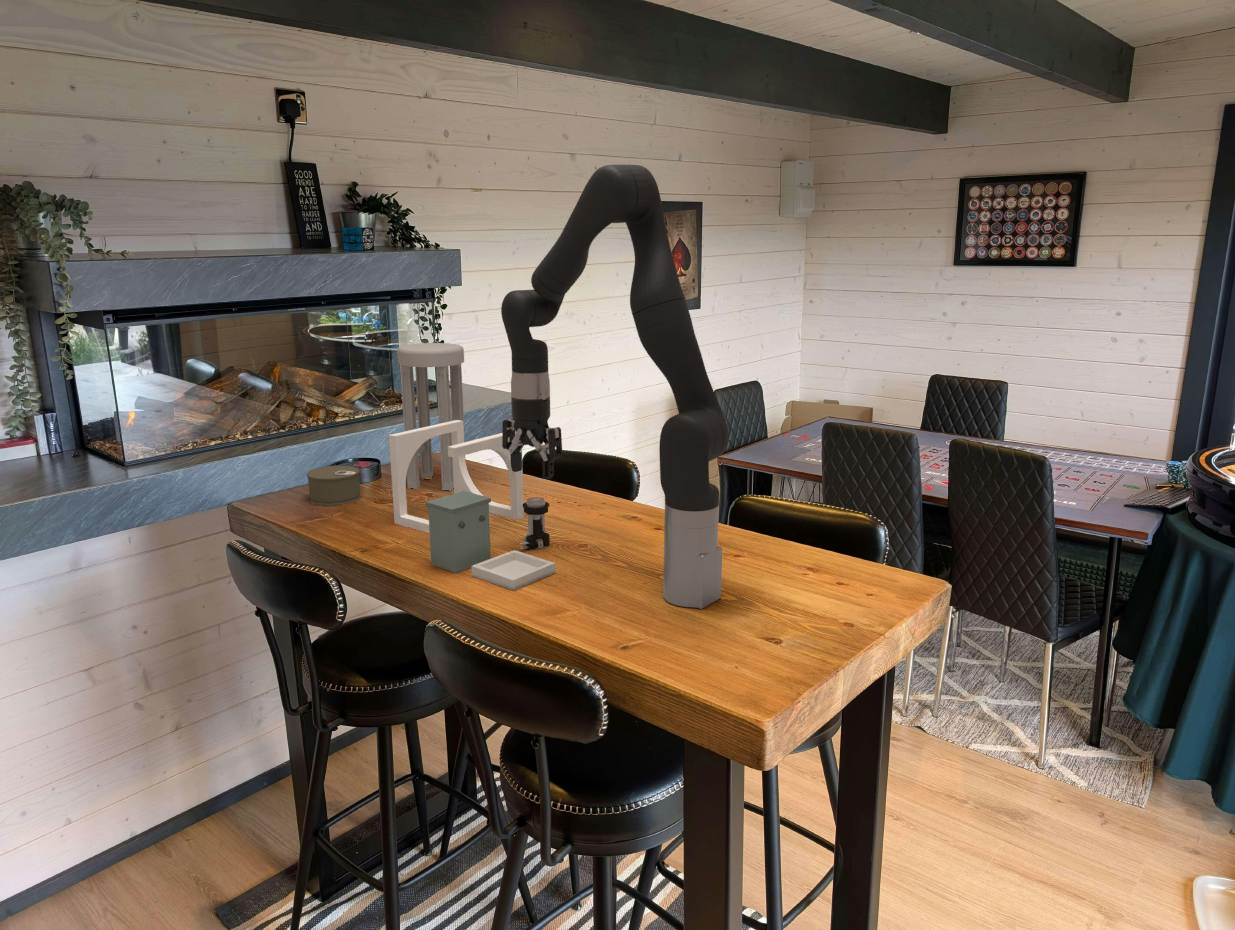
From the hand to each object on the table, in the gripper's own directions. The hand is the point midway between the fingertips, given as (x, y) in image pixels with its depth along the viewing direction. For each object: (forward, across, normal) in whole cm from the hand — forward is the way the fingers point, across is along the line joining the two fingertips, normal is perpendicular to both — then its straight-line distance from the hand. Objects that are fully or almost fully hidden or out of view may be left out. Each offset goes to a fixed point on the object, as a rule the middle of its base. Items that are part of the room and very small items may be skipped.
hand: (532, 474), depth 175 cm
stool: (+16, -52, +18) cm, 57 cm away
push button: (+15, 0, 0) cm, 16 cm away
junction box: (+15, -5, -15) cm, 22 cm away
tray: (+15, +8, -13) cm, 21 cm away
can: (+16, -60, -6) cm, 63 cm away
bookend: (+16, -25, +2) cm, 30 cm away
